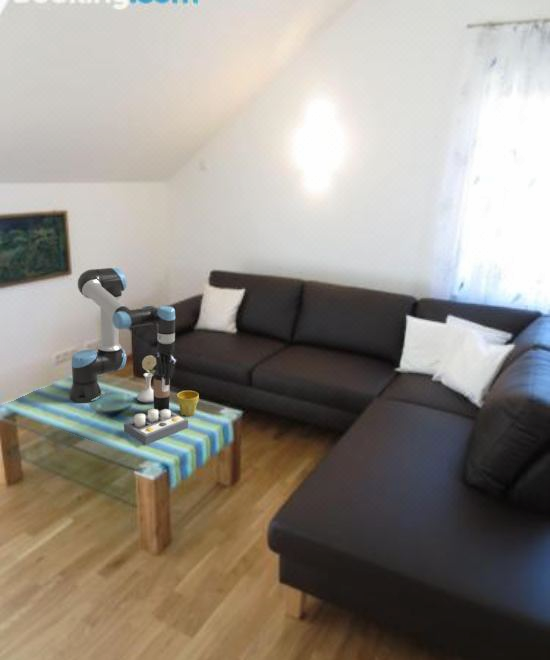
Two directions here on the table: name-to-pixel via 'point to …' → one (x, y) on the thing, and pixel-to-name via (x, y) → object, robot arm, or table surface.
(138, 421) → the button
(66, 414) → the table surface
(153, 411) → the button
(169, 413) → the button
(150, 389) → the flower in vase
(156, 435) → the tray
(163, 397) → the travel mug
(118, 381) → the table surface
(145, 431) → the strip
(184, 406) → the plant pot
